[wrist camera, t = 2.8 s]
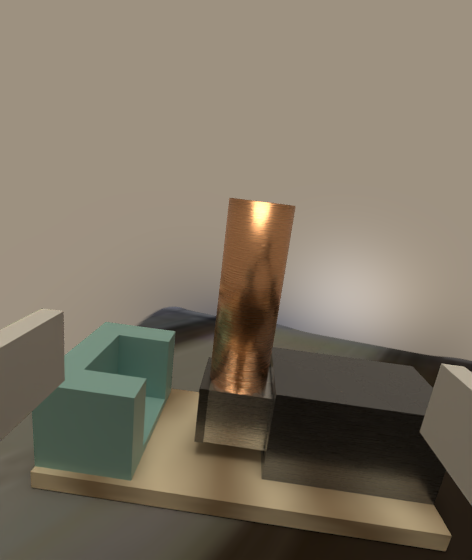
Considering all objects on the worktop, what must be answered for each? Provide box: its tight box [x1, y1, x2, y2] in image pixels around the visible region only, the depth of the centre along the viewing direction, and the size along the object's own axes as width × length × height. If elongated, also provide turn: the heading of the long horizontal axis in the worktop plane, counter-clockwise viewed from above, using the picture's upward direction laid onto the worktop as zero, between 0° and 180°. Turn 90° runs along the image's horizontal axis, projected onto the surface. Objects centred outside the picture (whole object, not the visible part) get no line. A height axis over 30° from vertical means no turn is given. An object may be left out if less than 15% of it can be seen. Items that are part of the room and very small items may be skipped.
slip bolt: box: [194, 198, 295, 451], centre depth 21 cm, size 15×4×16 cm, turn 86°
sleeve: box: [261, 347, 446, 505], centre depth 22 cm, size 11×6×6 cm, turn 86°
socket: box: [32, 322, 175, 481], centre depth 23 cm, size 6×9×6 cm, turn 176°
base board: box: [31, 389, 451, 551], centre depth 23 cm, size 25×10×1 cm, turn 86°
